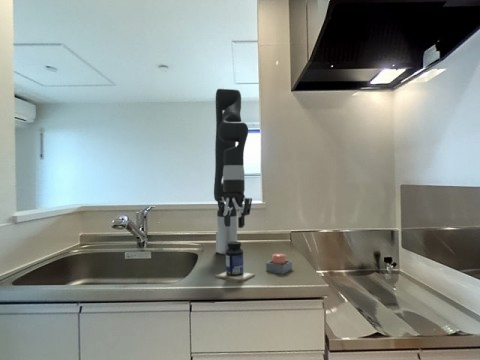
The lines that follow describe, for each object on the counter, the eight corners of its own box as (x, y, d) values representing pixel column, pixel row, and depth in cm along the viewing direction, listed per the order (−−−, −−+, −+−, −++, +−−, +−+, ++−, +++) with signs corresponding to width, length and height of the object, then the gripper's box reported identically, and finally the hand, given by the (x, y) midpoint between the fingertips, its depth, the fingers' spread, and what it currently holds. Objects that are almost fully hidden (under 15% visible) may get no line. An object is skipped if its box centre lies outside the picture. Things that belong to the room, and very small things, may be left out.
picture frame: (214, 277, 102) (214, 274, 102) (230, 270, 110) (230, 268, 110) (240, 283, 96) (240, 280, 96) (255, 275, 103) (255, 273, 103)
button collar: (266, 270, 109) (266, 262, 109) (275, 266, 115) (275, 258, 115) (283, 274, 105) (283, 265, 105) (291, 269, 111) (291, 261, 111)
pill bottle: (245, 272, 105) (245, 241, 105) (240, 277, 99) (239, 244, 99) (229, 270, 107) (229, 240, 107) (223, 275, 101) (222, 243, 101)
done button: (269, 266, 109) (269, 255, 109) (276, 263, 113) (276, 253, 113) (282, 268, 106) (281, 257, 106) (288, 265, 110) (287, 254, 110)
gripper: (211, 179, 104) (211, 226, 104) (244, 178, 96) (245, 230, 96) (224, 179, 110) (224, 224, 110) (256, 178, 102) (257, 227, 102)
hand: (234, 226), depth 103 cm, fingers open, 5 cm apart
